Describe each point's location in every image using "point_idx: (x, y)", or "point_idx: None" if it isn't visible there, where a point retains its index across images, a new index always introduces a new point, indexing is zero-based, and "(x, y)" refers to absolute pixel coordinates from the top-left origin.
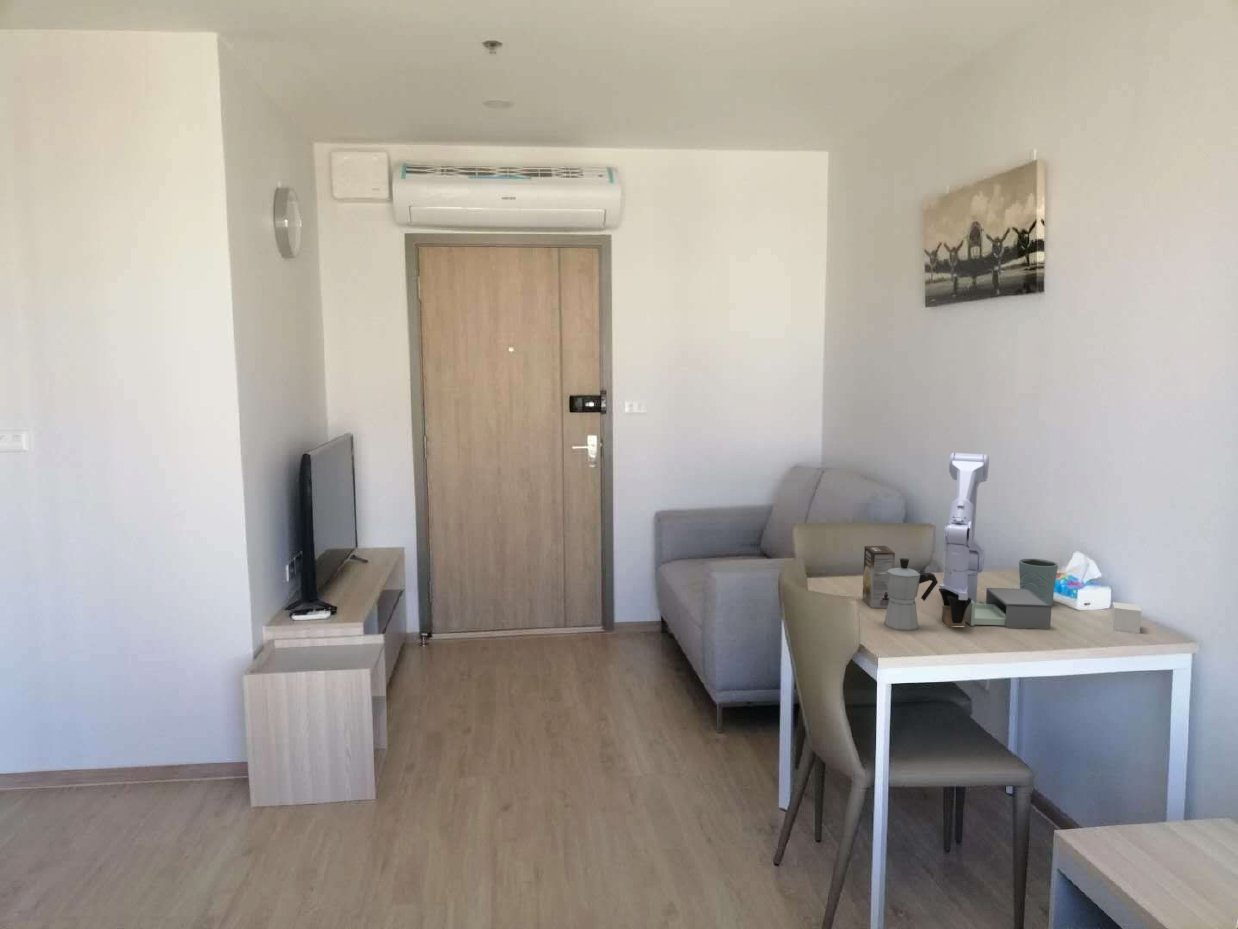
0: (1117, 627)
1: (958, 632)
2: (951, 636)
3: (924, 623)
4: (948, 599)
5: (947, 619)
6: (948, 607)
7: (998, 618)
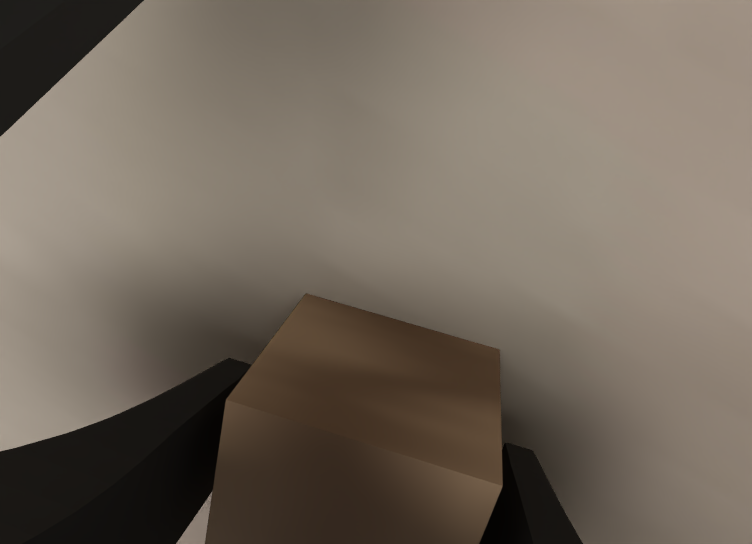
0: None
1: (132, 306)
2: (4, 165)
3: (471, 102)
4: (4, 522)
5: (276, 338)
6: (384, 505)
7: None
